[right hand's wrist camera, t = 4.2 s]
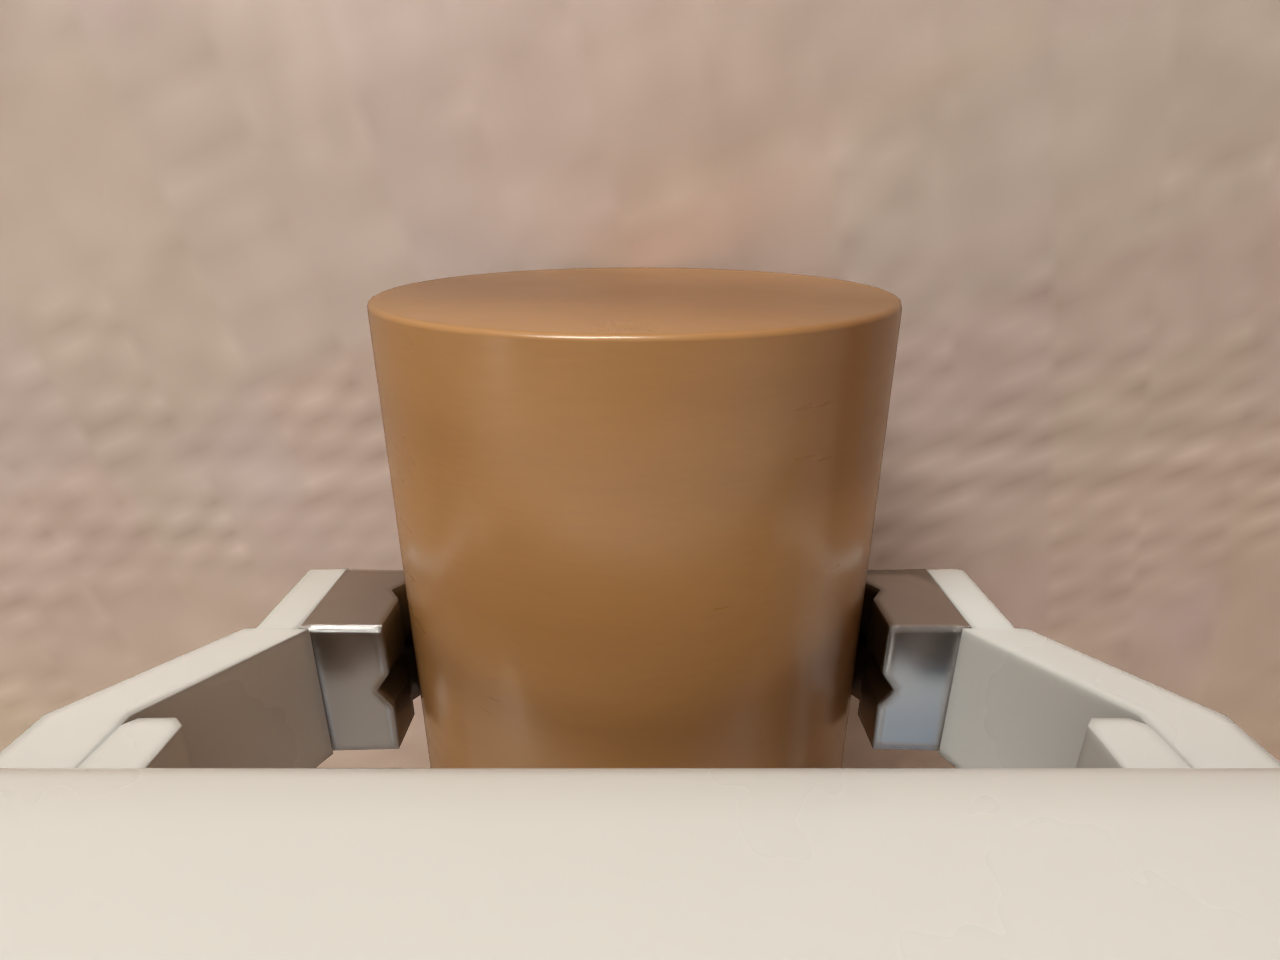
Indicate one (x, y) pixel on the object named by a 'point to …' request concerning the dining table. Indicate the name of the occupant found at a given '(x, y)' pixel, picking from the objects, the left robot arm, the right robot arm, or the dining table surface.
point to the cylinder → (635, 510)
